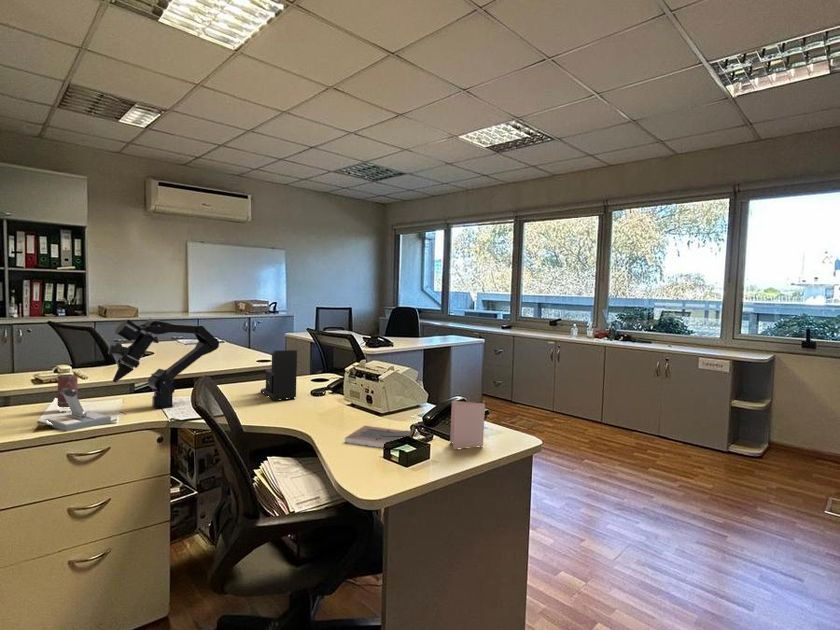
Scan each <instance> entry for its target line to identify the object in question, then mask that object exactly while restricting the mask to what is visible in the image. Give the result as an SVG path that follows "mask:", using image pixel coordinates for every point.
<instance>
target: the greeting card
mask: <svg viewBox="0 0 840 630" xmlns="http://www.w3.org/2000/svg"><path fill="white" fill-rule="evenodd" d="M485 410H486V403H480V402H472V401H471V402H469V401H462V400H461V401H459V400H451V414H450V415H451V416H450V417H451V418H450V432H449V433H450V434H449V435H450V437H449V438H450V439H449V443H450V442H453V444H452V450H453V449H458V448H466V447H477V446H483V447H484V436H485V435H484V433H485V431H484V430H485ZM458 450H459V449H458Z"/></svg>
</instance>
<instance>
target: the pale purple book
mask: <svg viewBox="0 0 840 630" xmlns="http://www.w3.org/2000/svg"><path fill="white" fill-rule="evenodd" d="M410 431H411V430H402V429H394V428H386V427H379V426H370V425H363V426H361V427H360V428H358V429H356V430H355V431H353V432H352V433H350V434H348V436H346V437H344V443H345V442H350V443H349V444H351V443H356V444H355V445H358V444H361V445H360V446H365V445H368V446H367V447H372V446H375V447H374V448H379V447H381V449H383V448H382V447H383V445H384V444H385V443H386V442H389V441H392V440H396V439H399V438H401V437H404V436H409V435H410ZM415 432H416V433H415V435H414V437H418V436H419V437H420V435H419V434H421V433H420V432H419V431H415Z"/></svg>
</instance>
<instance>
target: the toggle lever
mask: <svg viewBox="0 0 840 630" xmlns="http://www.w3.org/2000/svg"><path fill="white" fill-rule="evenodd" d="M60 393H61V394H62V395H64V397H65V399H66V401H67V403H68V405H69V407H70V409H71V411H72V412H71V414H72V415H74V416H77V417H81V418H84V417H86V413H85V412H86V411H84V408H83V406H82V405H81V402H80V400H79V399H78V395H77V396H76V391H75V390H72V389H68V388H63V389H61V391H60Z"/></svg>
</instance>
